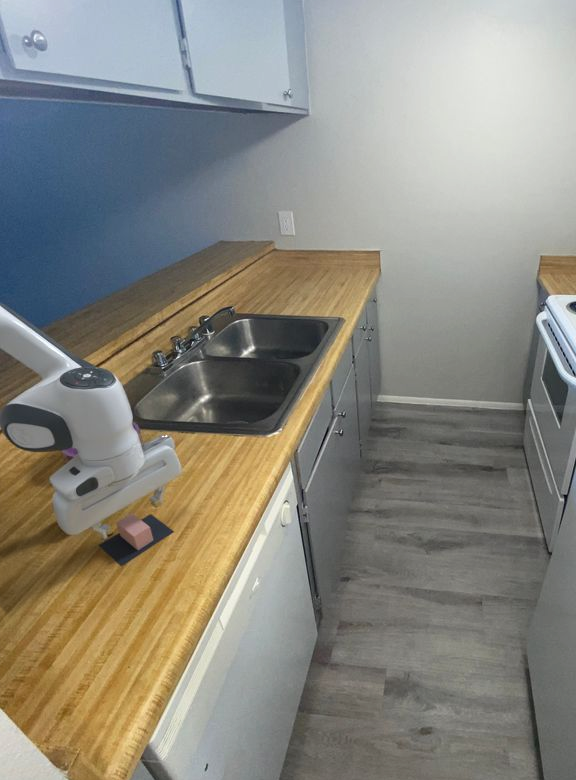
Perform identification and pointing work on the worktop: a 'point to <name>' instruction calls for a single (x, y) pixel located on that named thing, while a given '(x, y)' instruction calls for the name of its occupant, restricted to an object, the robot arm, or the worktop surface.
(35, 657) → the worktop surface
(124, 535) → the eraser
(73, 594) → the worktop surface
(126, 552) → the mat
